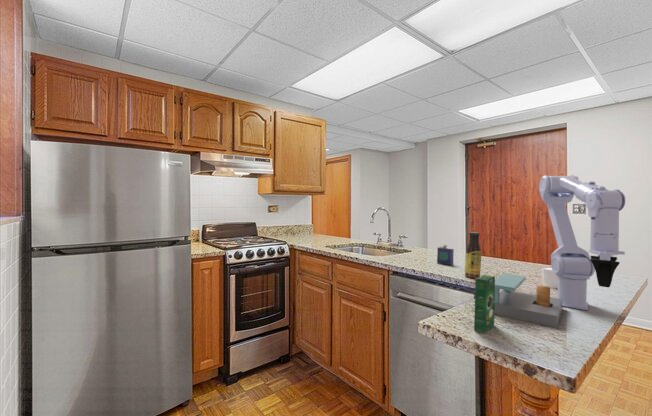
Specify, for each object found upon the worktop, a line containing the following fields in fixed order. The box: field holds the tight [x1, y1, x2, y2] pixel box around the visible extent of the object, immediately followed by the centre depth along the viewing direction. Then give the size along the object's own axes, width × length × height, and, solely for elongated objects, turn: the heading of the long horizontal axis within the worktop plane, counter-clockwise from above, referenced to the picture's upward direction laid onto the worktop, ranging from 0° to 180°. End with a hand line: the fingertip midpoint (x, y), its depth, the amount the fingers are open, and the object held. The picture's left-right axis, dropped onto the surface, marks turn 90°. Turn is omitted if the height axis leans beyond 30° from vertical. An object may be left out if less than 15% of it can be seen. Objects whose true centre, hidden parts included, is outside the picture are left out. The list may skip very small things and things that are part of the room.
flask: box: [436, 244, 455, 267], centre depth 166 cm, size 9×3×11 cm, turn 37°
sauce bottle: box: [464, 231, 482, 279], centre depth 136 cm, size 6×6×20 cm
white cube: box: [541, 267, 558, 290], centre depth 122 cm, size 7×7×7 cm
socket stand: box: [494, 273, 563, 328], centre depth 92 cm, size 20×16×8 cm
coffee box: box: [473, 274, 496, 334], centre depth 78 cm, size 8×3×13 cm, turn 137°
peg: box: [536, 284, 551, 307], centre depth 89 cm, size 3×3×8 cm
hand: (603, 284), depth 84 cm, fingers open, 7 cm apart
